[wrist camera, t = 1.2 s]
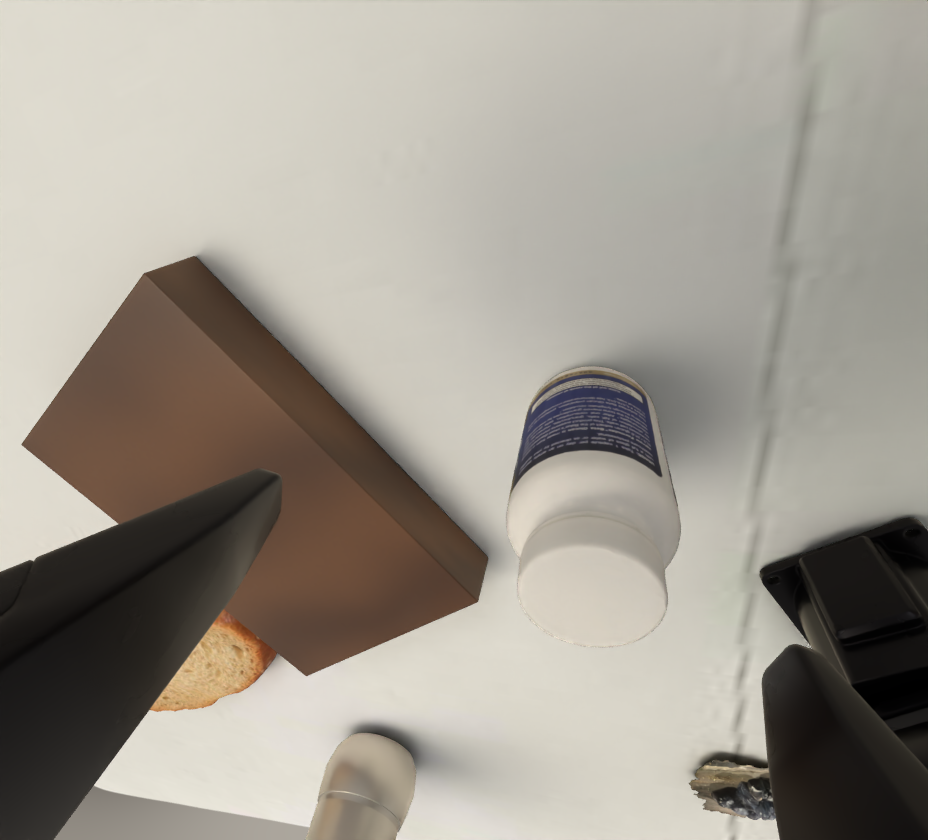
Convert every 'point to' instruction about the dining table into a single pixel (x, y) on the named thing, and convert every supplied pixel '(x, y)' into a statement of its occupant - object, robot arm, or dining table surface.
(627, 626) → the pill bottle
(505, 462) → the dining table surface
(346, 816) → the silver metal bottle
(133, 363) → the walnut board
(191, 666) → the slice of bread
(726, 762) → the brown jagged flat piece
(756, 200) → the dining table surface
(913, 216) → the dining table surface
